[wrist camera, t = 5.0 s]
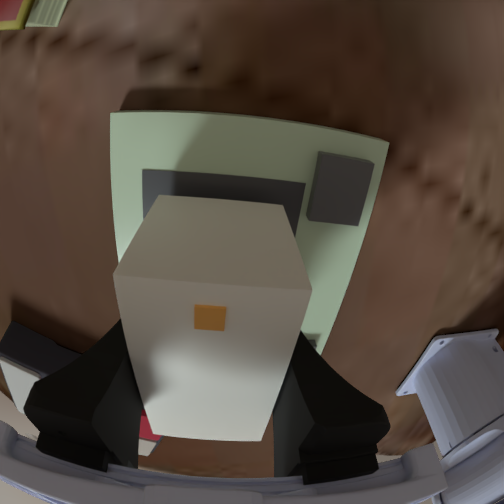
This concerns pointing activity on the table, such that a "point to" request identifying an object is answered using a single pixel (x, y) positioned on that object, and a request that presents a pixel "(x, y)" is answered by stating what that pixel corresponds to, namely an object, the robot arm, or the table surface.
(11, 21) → the hardcover book
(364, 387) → the table surface
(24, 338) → the calculator
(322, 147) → the pcb board
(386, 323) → the table surface
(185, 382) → the block
